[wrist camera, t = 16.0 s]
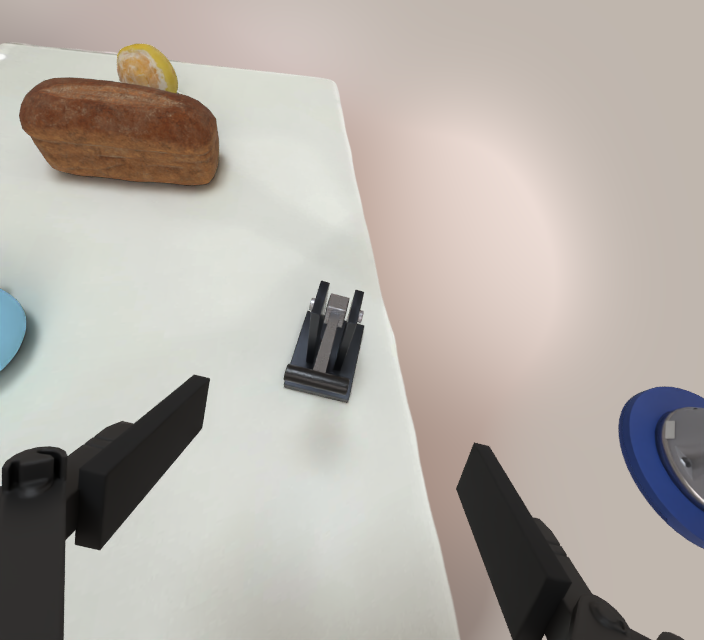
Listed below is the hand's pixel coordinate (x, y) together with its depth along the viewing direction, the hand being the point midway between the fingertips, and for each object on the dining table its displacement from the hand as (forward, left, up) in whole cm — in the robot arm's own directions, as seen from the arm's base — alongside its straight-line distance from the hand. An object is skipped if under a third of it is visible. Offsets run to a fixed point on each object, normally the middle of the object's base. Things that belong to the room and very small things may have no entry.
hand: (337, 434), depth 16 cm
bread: (+61, -17, -29) cm, 70 cm away
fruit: (+77, -30, -29) cm, 88 cm away
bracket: (+10, -13, -28) cm, 33 cm away
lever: (+7, -9, -14) cm, 19 cm away
